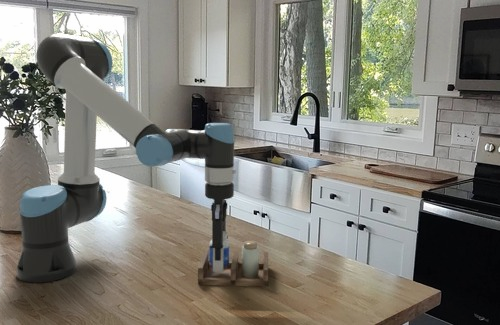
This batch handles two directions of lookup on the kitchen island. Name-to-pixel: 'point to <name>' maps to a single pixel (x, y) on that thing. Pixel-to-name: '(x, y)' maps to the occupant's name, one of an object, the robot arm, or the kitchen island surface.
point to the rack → (231, 273)
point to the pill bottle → (225, 253)
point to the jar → (250, 260)
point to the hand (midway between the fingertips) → (219, 266)
